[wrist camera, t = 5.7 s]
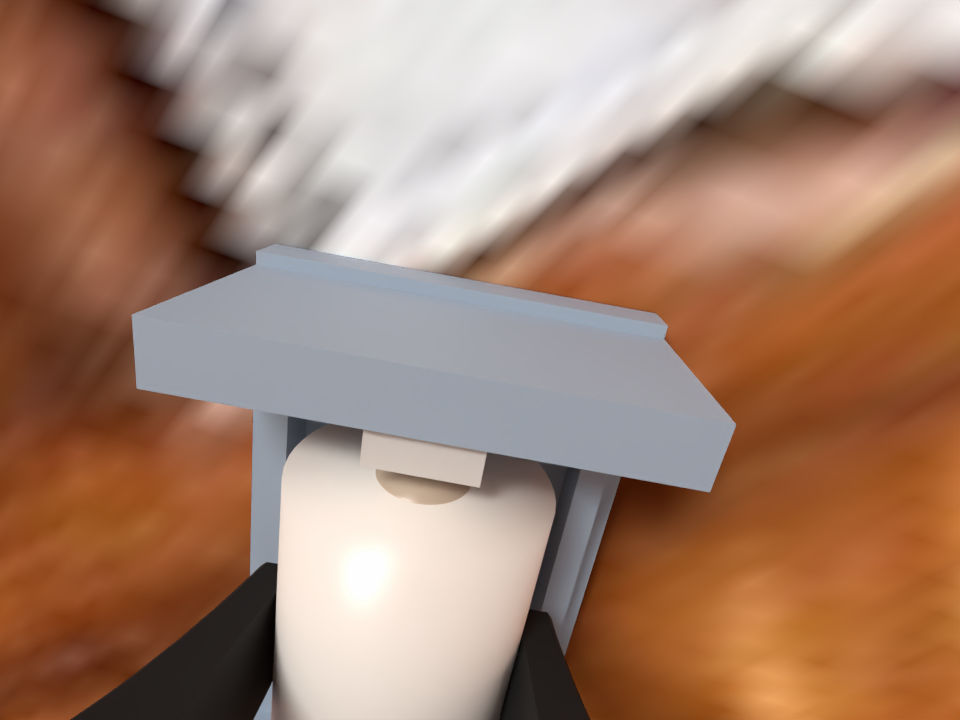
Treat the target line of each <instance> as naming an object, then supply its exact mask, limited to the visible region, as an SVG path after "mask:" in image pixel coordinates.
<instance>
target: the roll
mask: <svg viewBox="0 0 960 720" xmlns="http://www.w3.org/2000/svg"><path fill="white" fill-rule="evenodd" d="M362 436H363V429H357V428H352V427H346V426H341V425H335V424H327V425H325V426H323V427H321V428H319V429H318V430H316V431H314V432H312V433H311V434H310V435H308V436H307V437H305V438H304V439H303V440H302V441H301V442H300V443H299V444H298V445H297V446H296V447H295V448H294V449H293V451H292V452H291V453H290V455H289V456H288V458H287V461H286V463H285V465H284V468H283V473H282V482H281V504H280V527H279V549H278V572H277V594H276V617H275V639H274V662H273V684H272V706H271V720H499V718H500V714H501V710H502V706H503V703H504V699H505V695H506V692H507V688H508V684H509V681H510V677H511V673H512V670H513V666H514V662H515V659H516V655H517V651H518V648H519V644H520V640H521V637H522V633H523V629H524V626H525V622H526V618H527V615H528V611H529V607H530V604H531V600H532V596H533V593H534V589H535V585H536V582H537V578H538V574H539V571H540V567H541V563H542V560H543V556H544V552H545V549H546V545H547V541H548V538H549V534H550V530H551V527H552V523H553V519H554V516H555V510H556V499H555V493H554V489H553V487H552V484H551V481H550V479H549V478H548V476H547V474H546V472H545V471H544V470H543V468H542V467H541V466H540V465H539V463H538V462H537V461H534V460H528V459H523V458H517V457H512V456H506V455H501V454H495V453H490V452H487V455H486V460H485V465H484V470H483V475H482V480H481V484H480V488H478V487H473V486H467V485H462V484H456V483H451V482H445V481H439V480H434V479H428V478H423V477H417V476H412V475H406V474H401V473H395V472H390V471H384V470H379V469H373V468H368V467H362V466H359V465H360V456H361V446H362Z"/></svg>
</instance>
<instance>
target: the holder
mask: <svg viewBox="0 0 960 720" xmlns="http://www.w3.org/2000/svg"><path fill="white" fill-rule="evenodd" d="M132 324H133V339H134V354H135V368H136V383H137V389H142V390H148V391H153V392H159V393H164V394H170V395H175V396H181V397H186V398H192V399H197V400H203V401H208V402H214V403H219V404H225V405H230V406H236V407H241V408H247V409H252V410H253V453H252V505H251V558H250V576H251V575H252V574H253V573H254V572H255V571H256V570H257V569H258V568H259V567H260V566H261V565H263V564H264V563H266V562H271V563H276V564H278V549H279V527H280V504H281V482H282V473H283V468H284V465H285V463H286V461H287V458H288V456H289V455H290V453H291V452H292V451H293V449H294V448H295V447H296V446H297V445H298V444H299V443H300V442H301V441H302V440H303V439H304V438H305V437H307V436H308V435H310V434H311V433H312V432H314V431H316V430H318V429H319V428H321V427H323V426H325V425H327V424H335V425H341V426H346V427H352V428H357V429H363V436H362V446H361V456H360V465H359V466H362V467H368V468H373V469H379V470H384V471H390V472H395V473H401V474H406V475H412V476H417V477H423V478H428V479H434V480H439V481H445V482H451V483H456V484H462V485H467V486H473V487H478V488H480V484H481V480H482V475H483V470H484V465H485V460H486V455H487V452H490V453H495V454H501V455H506V456H512V457H517V458H523V459H528V460H534V461H537V462H538V463H539V465H540V466H541V467H542V468H543V470H544V471H545V472H546V474H547V476H548V478H549V479H550V481H551V484H552V487H553V489H554V493H555V499H556V510H555V516H554V519H553V523H552V527H551V530H550V534H549V538H548V541H547V545H546V549H545V552H544V556H543V560H542V563H541V567H540V571H539V574H538V578H537V582H536V585H535V589H534V593H533V596H532V600H531V604H530V607H529V609H532V610H537V611H543V612H548V614H549V615H550V616H551V619H552V622H553V625H554V628H555V631H556V635H557V638H558V640H559V643H560V646H561V649H562V652H563V655H564V656H565V653H566V650H567V647H568V644H569V640H570V637H571V634H572V631H573V628H574V625H575V621H576V618H577V615H578V612H579V609H580V605H581V602H582V599H583V596H584V593H585V589H586V586H587V583H588V580H589V577H590V574H591V570H592V567H593V564H594V561H595V558H596V554H597V551H598V548H599V545H600V542H601V538H602V535H603V532H604V529H605V526H606V523H607V519H608V516H609V513H610V510H611V507H612V503H613V500H614V497H615V494H616V491H617V487H618V484H619V481H620V478H621V476H622V477H628V478H633V479H639V480H644V481H650V482H655V483H661V484H666V485H672V486H677V487H683V488H688V489H694V490H699V491H705V492H710V491H711V488H712V486H713V483H714V481H715V478H716V475H717V473H718V470H719V468H720V465H721V463H722V460H723V457H724V455H725V452H726V450H727V447H728V445H729V442H730V440H731V437H732V434H733V432H734V429H735V427H736V424H735V422H734V421H733V420H732V419H731V418H730V417H729V415H728V414H727V413H726V412H725V411H724V409H723V408H722V407H721V406H720V405H719V404H718V402H717V401H716V400H715V399H714V398H713V396H712V395H711V394H710V393H709V392H708V391H707V389H706V388H705V387H704V386H703V385H702V383H701V382H700V381H699V380H698V379H697V378H696V376H695V375H694V374H693V373H692V372H691V370H690V369H689V368H688V367H687V366H686V365H685V363H684V362H683V361H682V360H681V359H680V357H679V356H678V355H677V354H676V353H675V352H674V350H673V349H672V348H671V347H670V346H669V344H668V343H667V342H666V341H665V340H664V338H665V334H666V331H667V328H668V326H667V324H666V323H665V322H664V321H663V320H662V319H661V318H660V317H659V316H658V315H657V314H655V313H650V312H645V311H639V310H634V309H628V308H623V307H617V306H612V305H606V304H601V303H595V302H590V301H584V300H579V299H573V298H568V297H563V296H557V295H552V294H546V293H541V292H535V291H530V290H524V289H519V288H513V287H508V286H502V285H497V284H491V283H486V282H480V281H475V280H470V279H464V278H459V277H453V276H448V275H442V274H437V273H431V272H426V271H420V270H415V269H409V268H404V267H398V266H393V265H388V264H382V263H377V262H371V261H366V260H360V259H355V258H349V257H344V256H338V255H333V254H327V253H322V252H316V251H311V250H305V249H300V248H295V247H289V246H284V245H278V244H275V245H272V246H269V247H266V248H263V249H260V250H258V251H256V265H254V266H252V267H249V268H247V269H244V270H242V271H239V272H237V273H234V274H232V275H229V276H227V277H224V278H222V279H219V280H217V281H214V282H212V283H209V284H207V285H204V286H202V287H199V288H197V289H194V290H192V291H189V292H187V293H184V294H182V295H179V296H177V297H174V298H172V299H169V300H167V301H165V302H162V303H160V304H157V305H155V306H152V307H150V308H147V309H145V310H142V311H140V312H137V313H135V314H132ZM272 684H273V681H272ZM272 684H271V686H270V688H269V690H268V692H267V694H266V696H265V698H264V700H263V702H262V704H261V706H260V708H259V710H258V712H257V714H256V716H255V718H254V720H271V706H272ZM499 720H500V718H499Z"/></svg>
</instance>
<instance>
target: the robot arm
mask: <svg viewBox="0 0 960 720" xmlns="http://www.w3.org/2000/svg"><path fill="white" fill-rule="evenodd" d="M277 572H278V564H276V563H271V562H266V563H264V564H263V565H261V566H260V567H259V568H258V569H257V570H256V571H255V572H254V573H253V574H252V575H251V576H250V577H248V578H247V579H246V580H245V581H244V582H243V583H242V584H241V585H240V586H239V587H238V588H237V589H236V590H235V591H233V592H232V593H231V594H230V595H229V596H228V597H227V598H226V599H225V600H224V601H222V602H221V603H220V604H219V605H218V606H217V607H216V608H215V609H214V610H212V611H211V612H210V613H209V614H208V615H207V616H205V617H204V618H203V619H202V620H201V621H200V622H198V623H197V624H196V625H195V626H194V627H193V628H191V629H190V630H189V631H188V632H187V633H186V634H184V635H183V636H182V637H181V638H180V639H178V640H177V641H176V642H175V643H174V644H172V645H171V646H170V647H168V648H167V649H166V650H165V651H163V652H162V653H161V654H160V655H158V656H157V657H156V658H155V659H153V660H152V661H151V662H149V663H148V664H147V665H146V666H144V667H143V668H142V669H141V670H139V671H138V672H137V673H135V674H134V675H133V676H131V677H130V678H129V679H127V680H126V681H125V682H123V683H122V684H121V685H119V686H118V687H117V688H115V689H114V690H112V691H111V692H110V693H108V694H107V695H105V696H104V697H103V698H101V699H100V700H98V701H97V702H95V703H94V704H93V705H91V706H90V707H88V708H87V709H85V710H84V711H82V712H81V713H79V714H78V715H77V716H75V717H74V718H72V719H70V720H254V718H255V716H256V714H257V712H258V710H259V708H260V706H261V704H262V702H263V700H264V698H265V696H266V694H267V692H268V690H269V688H270V686H271V684H272V681H273V662H274V639H275V617H276V594H277ZM500 720H590V718H589V715H588V713H587V711H586V709H585V706H584V704H583V702H582V699H581V697H580V695H579V692H578V690H577V688H576V685H575V683H574V680H573V678H572V675H571V673H570V670H569V668H568V665H567V662H566V660H565V657H564V655H563V652H562V649H561V646H560V643H559V640H558V638H557V635H556V631H555V628H554V625H553V622H552V619H551V616H550V615H549V614H548V612H543V611H537V610H532V609H529V611H528V615H527V618H526V622H525V626H524V629H523V633H522V637H521V640H520V644H519V648H518V651H517V655H516V659H515V662H514V666H513V670H512V673H511V677H510V681H509V684H508V688H507V692H506V695H505V699H504V703H503V706H502V710H501V714H500Z"/></svg>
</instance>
